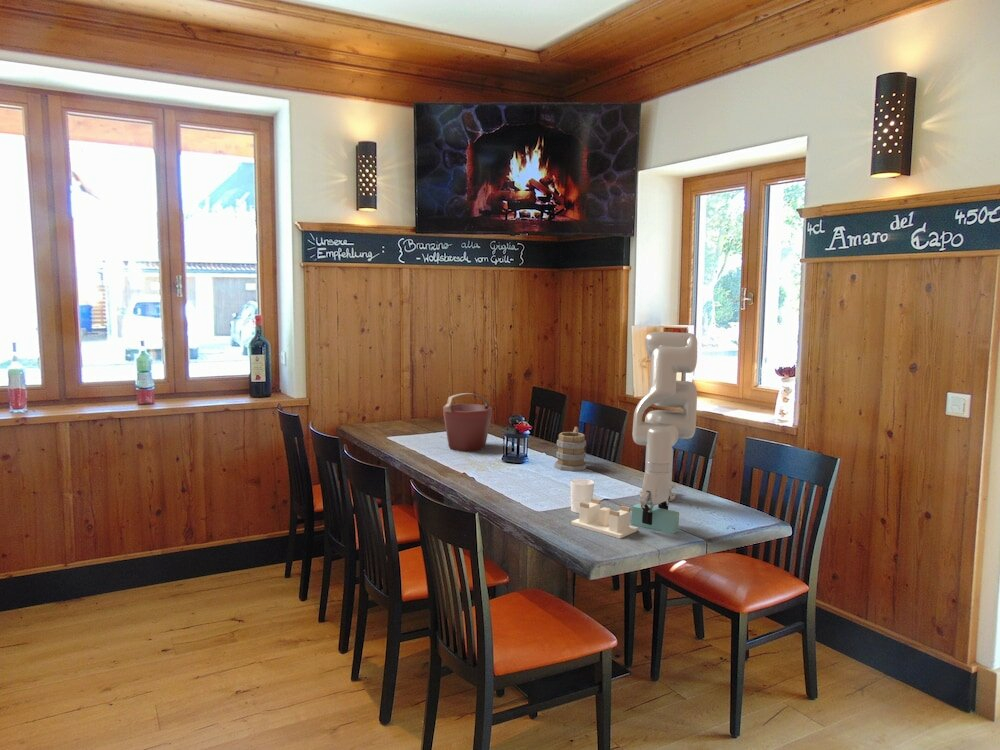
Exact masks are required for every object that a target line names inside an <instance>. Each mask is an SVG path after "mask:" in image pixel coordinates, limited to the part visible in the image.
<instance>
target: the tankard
mask: <svg viewBox="0 0 1000 750" xmlns="http://www.w3.org/2000/svg"><path fill="white" fill-rule="evenodd" d="M585 435H586V434H584V433H581V432H579V427H578V426H574V429H573V430H572V431H563V432H560V433H559V434H558V439H557V440H556V446H557V450H556V452H555V454H556V456H555V457H556V458H557V460H556V461H555V462H554V468H556V469H557V470H561V471H568V472H579V471H584V470H585V469H587V467H588V464H587V463H586V462H585V461H584V460H585V458H586V454H587V453H586V451H585V447H586V445H587V440H585Z"/></svg>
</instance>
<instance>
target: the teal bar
mask: <svg viewBox="0 0 1000 750" xmlns="http://www.w3.org/2000/svg"><path fill="white" fill-rule="evenodd" d="M648 507H650V505H648ZM631 509H632V510H631V521H630V522H631V523H630V525H632V526H633V525H634V526H637V527H642V528H646V529H651V530H655V531H658V532H659V531H660V532H663V533H664V532H665V533H669V534H675V533H676V532H678V531H679V525H680V524H679V522H680V511H676V510H672V509H671V510H670V509H668V510H667V509H662V508H658V506H657V507H656V506H653V509H652V511H651V512H653V515H652V525H648V524H644V523H642V514H643V511H642V508H641V503H636V504H634V505H632V507H631Z"/></svg>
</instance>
